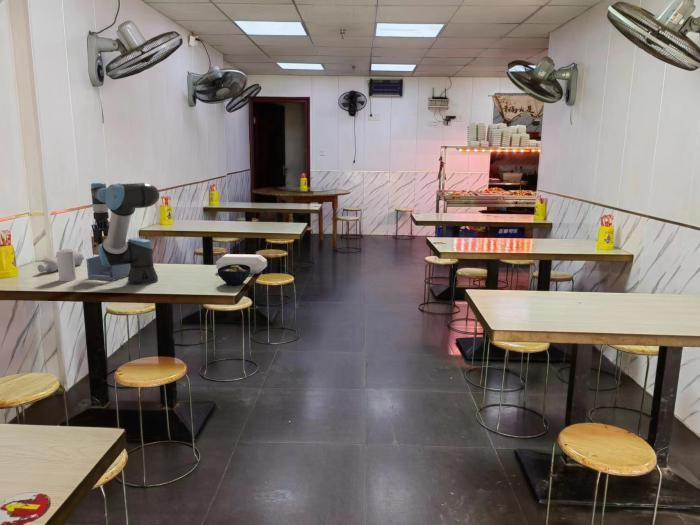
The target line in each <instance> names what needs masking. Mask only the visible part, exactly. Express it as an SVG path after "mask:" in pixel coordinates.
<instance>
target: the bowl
mask: <svg viewBox="0 0 700 525" xmlns="http://www.w3.org/2000/svg"><path fill="white" fill-rule="evenodd" d="M250 269H251V268H250V267H249V266H247V265H242V264H232V265H226V266H223V267H221V268H219V269H217V275H218V277H219V278H220V279H221V280H222V281H223V282H224V283H225V284H226V286H231V287H234V286H235V287H237V286H241V285H244V282H245V281H246V280H247V278H248V277H249V276H250V274H251V273H250Z"/></svg>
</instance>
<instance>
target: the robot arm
mask: <svg viewBox="0 0 700 525" xmlns="http://www.w3.org/2000/svg"><path fill="white" fill-rule="evenodd" d="M90 192H91V203H92V211H93V213H92V214H93V219H94V224H91V228H92V235H93V237H94V242H96V243H97V244H98V252H99V255H98V256H99V257H100V260H101V263H102V265H103V266H116V265H124V264H130V272H129V275H128V278H127V283H128V284H130V285H148V284H153V283H156V282H158V281H159V276H158V274H157V271H156V269H155V265H154V256H153V254H154V252H153V243H152V240H150V239H146V238H136V237H135V238H134V237H133V238H132V237H131V238H128V239H127V235H128V230H129V224H130V219H131V216H132V215H133V214H134V212H136V209H142V208H143V209H144V208H149V207H152V206H154V205H156V204H157V203H158V202H159V199H160V191H159V189H158V188H157V187H156V186H154V185H153V184H151V183H144V182H138V183H136V182H135V183H114V184H110V185H109V186H107V184H106V183H105V182H92V183H90ZM109 211H110V212H111V213H110V215H109ZM109 217H110V218H109ZM102 236H107V238H106V239H105V240H104V242H103V243H102Z"/></svg>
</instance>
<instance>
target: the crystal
mask: <svg viewBox="0 0 700 525" xmlns="http://www.w3.org/2000/svg"><path fill="white" fill-rule="evenodd" d="M232 264H242V265H247V266H249V267H250V268H251V269H250V274H260V273H261V272H262V271H264V269H266V268H267V267H268V260H267V259H266V257H264V256H263V255H261V254H249V253H248V254H244V253H243V254H242V253H239V254H237V253H235V254H233V253H232V254H231V253H226V254H224V255H223V256H221V257H220V258H219V259H217V260H216V262H215V265H216V269H217V270H218V269H219V268H221V267H223V266H226V265H232Z"/></svg>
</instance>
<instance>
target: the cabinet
mask: <svg viewBox="0 0 700 525" xmlns="http://www.w3.org/2000/svg"><path fill="white" fill-rule="evenodd" d="M85 262H86V270H87V278H88V279H93V280H104V281H105V280H106V281H116V280H119V279H122V278H125V277H127V276H129V272H130V264H124V265H116V266H103V265H102V263H101V260H100V257H99V255H96V256H92V257H88V258H86V259H85ZM124 276H125V277H124Z"/></svg>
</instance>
